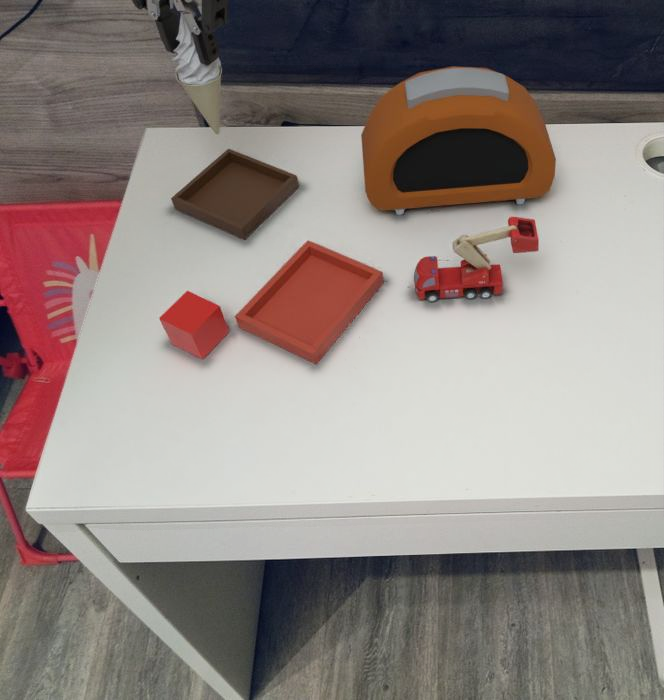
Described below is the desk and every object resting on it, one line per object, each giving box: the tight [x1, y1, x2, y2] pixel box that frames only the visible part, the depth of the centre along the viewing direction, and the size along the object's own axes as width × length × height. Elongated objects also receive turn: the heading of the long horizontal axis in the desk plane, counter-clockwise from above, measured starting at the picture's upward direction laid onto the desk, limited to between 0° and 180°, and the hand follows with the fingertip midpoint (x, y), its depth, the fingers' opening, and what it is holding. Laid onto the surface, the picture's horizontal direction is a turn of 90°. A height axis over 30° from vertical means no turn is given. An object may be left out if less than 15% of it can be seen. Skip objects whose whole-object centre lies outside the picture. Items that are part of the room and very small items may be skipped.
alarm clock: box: [360, 66, 557, 216], centre depth 94 cm, size 23×9×17 cm, turn 97°
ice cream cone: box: [171, 13, 223, 135], centre depth 85 cm, size 5×5×15 cm
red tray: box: [234, 239, 385, 365], centre depth 88 cm, size 14×11×2 cm
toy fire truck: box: [413, 216, 540, 303], centre depth 86 cm, size 3×14×10 cm, turn 95°
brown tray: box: [170, 148, 300, 241], centre depth 98 cm, size 11×11×2 cm
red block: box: [158, 290, 230, 360], centre depth 84 cm, size 4×4×4 cm
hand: (193, 54), depth 83 cm, fingers closed on ice cream cone, 4 cm apart
